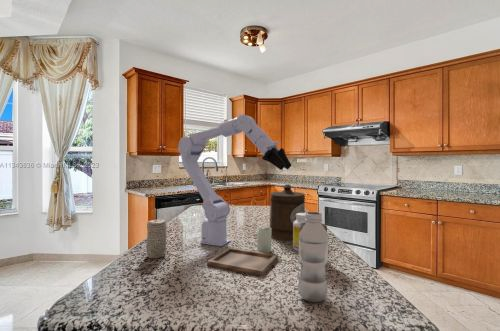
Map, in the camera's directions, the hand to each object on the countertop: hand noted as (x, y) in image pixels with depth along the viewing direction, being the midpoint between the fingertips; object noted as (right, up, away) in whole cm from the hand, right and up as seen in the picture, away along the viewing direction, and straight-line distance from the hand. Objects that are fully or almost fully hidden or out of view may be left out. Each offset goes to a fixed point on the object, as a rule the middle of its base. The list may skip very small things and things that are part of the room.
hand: (286, 167), depth 91 cm
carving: (-44, -30, -3) cm, 53 cm away
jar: (+7, -30, -8) cm, 32 cm away
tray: (-15, -30, -8) cm, 34 cm away
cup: (-8, -30, +3) cm, 31 cm away
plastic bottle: (+2, -30, -30) cm, 43 cm away
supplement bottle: (+6, -30, +4) cm, 31 cm away
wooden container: (+3, -30, +22) cm, 37 cm away
